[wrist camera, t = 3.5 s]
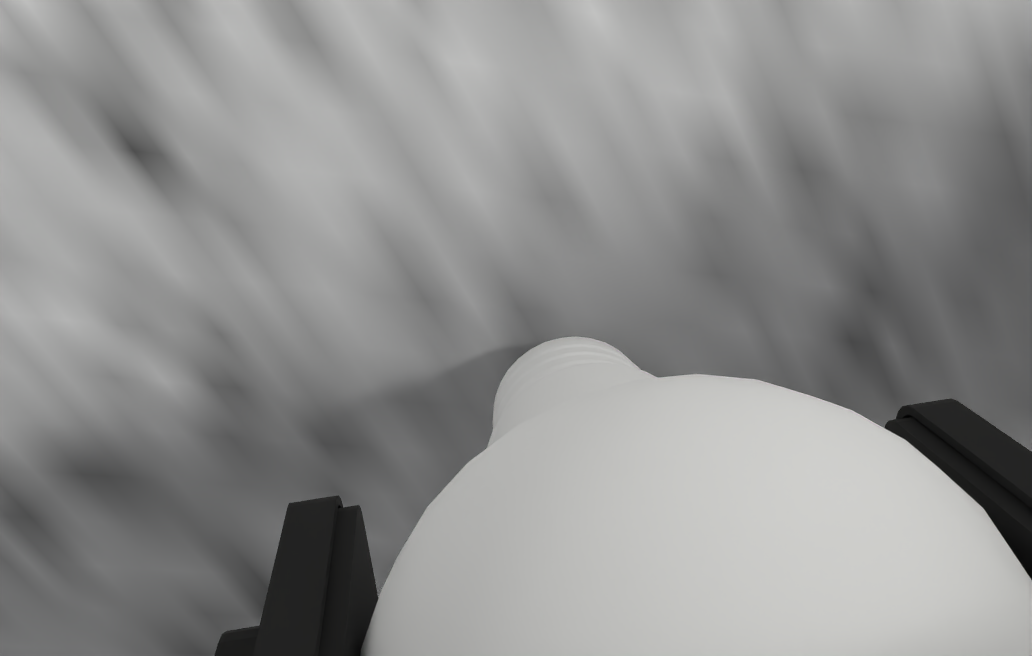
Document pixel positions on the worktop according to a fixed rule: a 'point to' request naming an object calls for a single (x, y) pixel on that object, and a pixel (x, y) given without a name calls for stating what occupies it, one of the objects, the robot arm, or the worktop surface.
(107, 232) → the worktop surface
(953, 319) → the worktop surface
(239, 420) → the worktop surface
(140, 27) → the worktop surface
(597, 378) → the lightbulb
